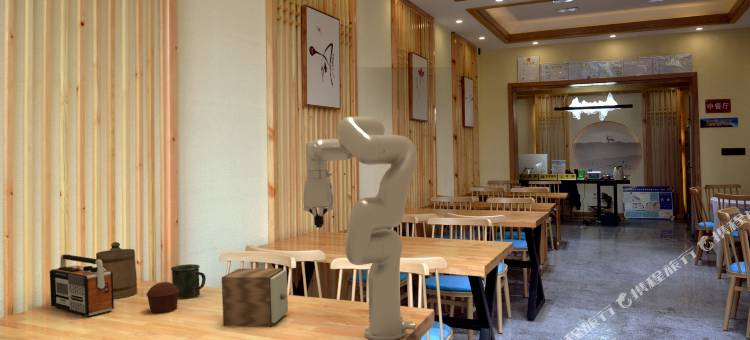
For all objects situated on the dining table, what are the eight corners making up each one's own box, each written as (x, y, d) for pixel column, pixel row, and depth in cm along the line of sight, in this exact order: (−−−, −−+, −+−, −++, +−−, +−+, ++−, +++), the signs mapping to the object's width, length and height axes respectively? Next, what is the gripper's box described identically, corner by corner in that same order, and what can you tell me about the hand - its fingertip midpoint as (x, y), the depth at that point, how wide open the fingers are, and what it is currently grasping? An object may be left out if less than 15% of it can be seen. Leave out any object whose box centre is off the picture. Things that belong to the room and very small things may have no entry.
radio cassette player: (49, 308, 207) (47, 256, 207) (77, 302, 216) (75, 252, 215) (88, 319, 190) (86, 262, 190) (116, 312, 199) (114, 257, 198)
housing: (284, 314, 188) (282, 268, 188) (270, 326, 174) (268, 277, 174) (240, 314, 190) (238, 268, 190) (223, 326, 176) (221, 277, 176)
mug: (183, 292, 226) (182, 263, 226) (213, 294, 221) (212, 264, 221) (165, 299, 215) (164, 269, 215) (197, 300, 211) (196, 270, 211)
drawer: (291, 311, 187) (289, 270, 187) (278, 322, 174) (277, 278, 174) (243, 310, 190) (241, 270, 190) (227, 322, 176) (225, 278, 176)
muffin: (165, 315, 191) (163, 287, 191) (139, 313, 195) (138, 286, 195) (186, 306, 202) (185, 280, 202) (162, 305, 206) (161, 279, 206)
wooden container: (97, 294, 228) (95, 242, 228) (135, 289, 235) (133, 238, 235) (98, 301, 215) (95, 246, 215) (138, 296, 222) (136, 242, 222)
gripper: (339, 174, 195) (341, 225, 195) (299, 176, 197) (301, 226, 197) (335, 175, 188) (337, 228, 188) (293, 176, 190) (295, 228, 190)
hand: (319, 227), depth 193 cm, fingers closed
